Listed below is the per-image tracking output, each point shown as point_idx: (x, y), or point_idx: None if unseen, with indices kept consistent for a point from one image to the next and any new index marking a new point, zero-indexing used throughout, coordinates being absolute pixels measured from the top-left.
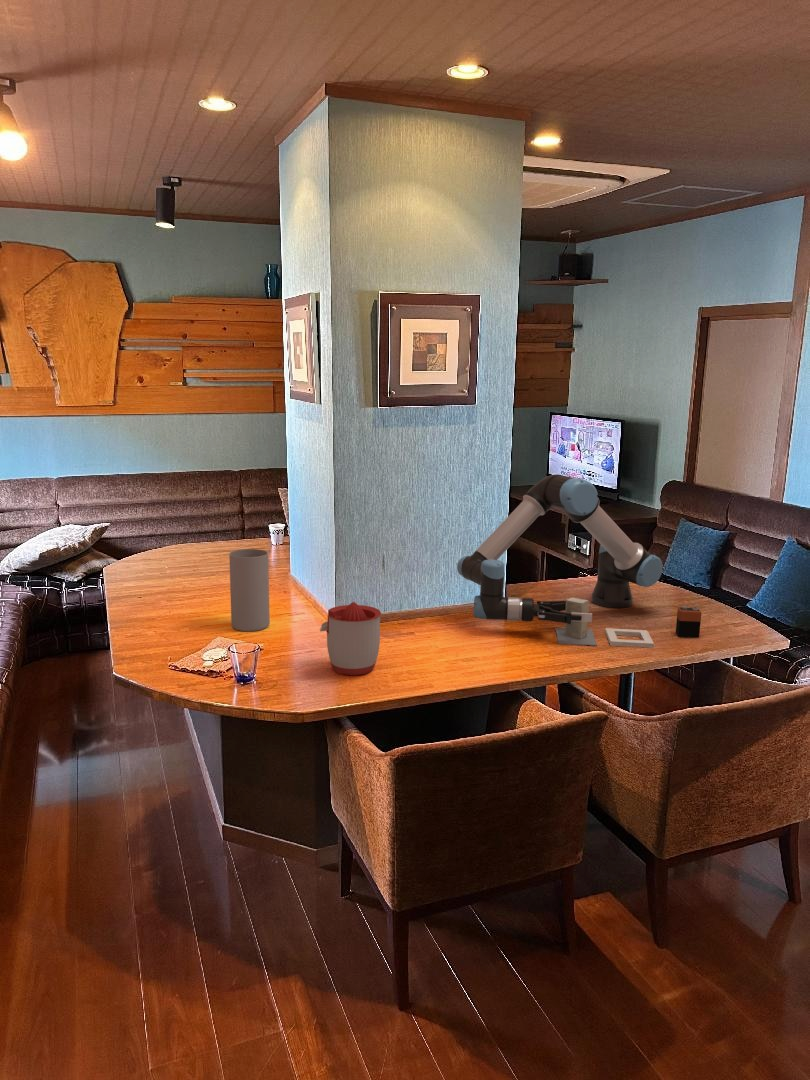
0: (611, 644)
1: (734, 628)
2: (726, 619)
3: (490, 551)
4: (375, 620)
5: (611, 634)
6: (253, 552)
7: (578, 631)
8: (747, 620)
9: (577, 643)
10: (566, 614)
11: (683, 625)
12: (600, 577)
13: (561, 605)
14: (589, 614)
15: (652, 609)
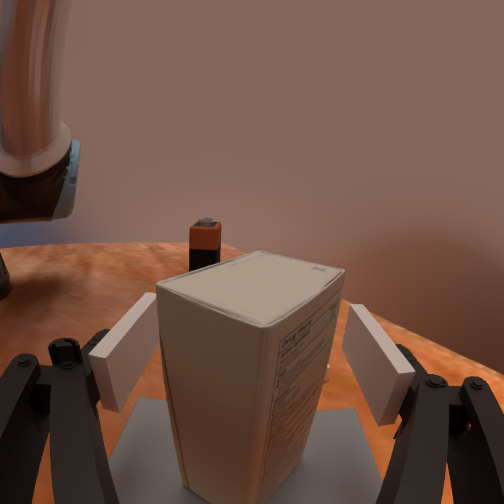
0: (326, 375)
1: (171, 251)
2: (131, 248)
3: None
4: None
5: None
6: None
7: (301, 444)
8: (142, 242)
9: (373, 467)
10: (445, 401)
11: (217, 257)
12: None
13: (91, 419)
14: (367, 313)
15: (45, 274)
